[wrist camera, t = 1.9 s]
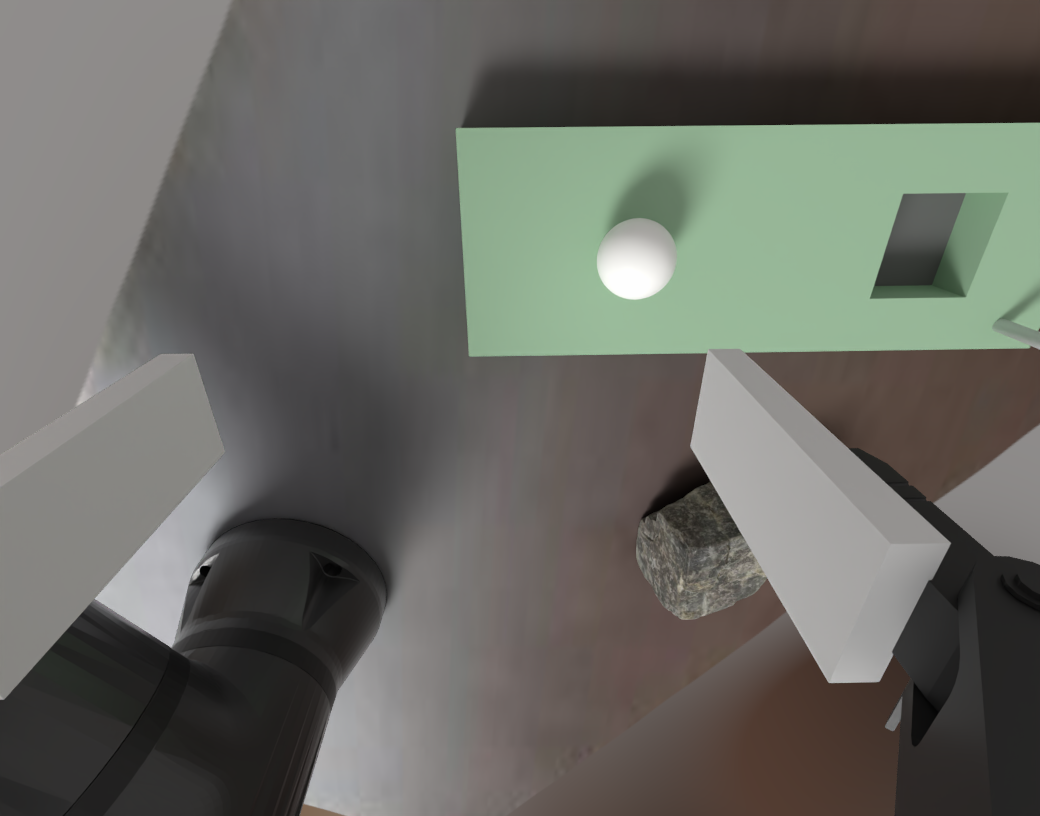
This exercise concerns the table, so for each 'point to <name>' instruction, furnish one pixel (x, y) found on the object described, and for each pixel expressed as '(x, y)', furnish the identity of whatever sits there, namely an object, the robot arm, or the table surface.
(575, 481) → the table surface
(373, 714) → the table surface
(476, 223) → the green
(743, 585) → the stone
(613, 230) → the ball
